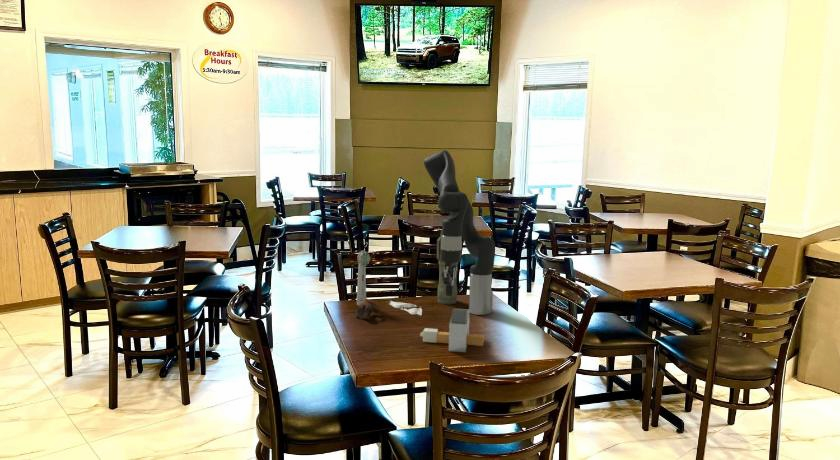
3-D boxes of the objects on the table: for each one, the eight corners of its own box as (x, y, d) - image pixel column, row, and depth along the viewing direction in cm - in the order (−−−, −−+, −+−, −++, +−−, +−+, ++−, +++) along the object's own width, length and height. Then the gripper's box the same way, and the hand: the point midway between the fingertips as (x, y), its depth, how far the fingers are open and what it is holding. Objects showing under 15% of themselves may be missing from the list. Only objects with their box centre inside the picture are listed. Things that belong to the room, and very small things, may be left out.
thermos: (430, 302, 287) (432, 226, 282) (450, 298, 295) (452, 224, 290) (443, 306, 280) (445, 228, 276) (463, 302, 288) (465, 226, 283)
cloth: (433, 316, 267) (433, 311, 266) (403, 319, 261) (403, 314, 261) (410, 301, 290) (410, 296, 290) (382, 303, 285) (382, 299, 285)
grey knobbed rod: (365, 304, 281) (365, 248, 278) (370, 307, 275) (371, 251, 272) (354, 305, 279) (354, 249, 276) (359, 308, 273) (359, 252, 270)
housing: (468, 335, 239) (469, 301, 238) (465, 352, 220) (466, 316, 218) (453, 334, 240) (454, 300, 238) (448, 351, 221) (449, 315, 219)
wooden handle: (483, 342, 231) (484, 332, 230) (482, 346, 227) (483, 335, 226) (421, 338, 235) (421, 327, 234) (419, 341, 231) (419, 330, 230)
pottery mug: (353, 314, 265) (362, 296, 266) (373, 324, 266) (382, 306, 267) (354, 316, 253) (363, 297, 254) (375, 326, 254) (384, 308, 255)
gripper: (446, 244, 232) (444, 290, 235) (435, 249, 220) (433, 298, 222) (466, 246, 230) (464, 292, 232) (456, 251, 218) (454, 300, 220)
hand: (449, 295), depth 227 cm, fingers closed
